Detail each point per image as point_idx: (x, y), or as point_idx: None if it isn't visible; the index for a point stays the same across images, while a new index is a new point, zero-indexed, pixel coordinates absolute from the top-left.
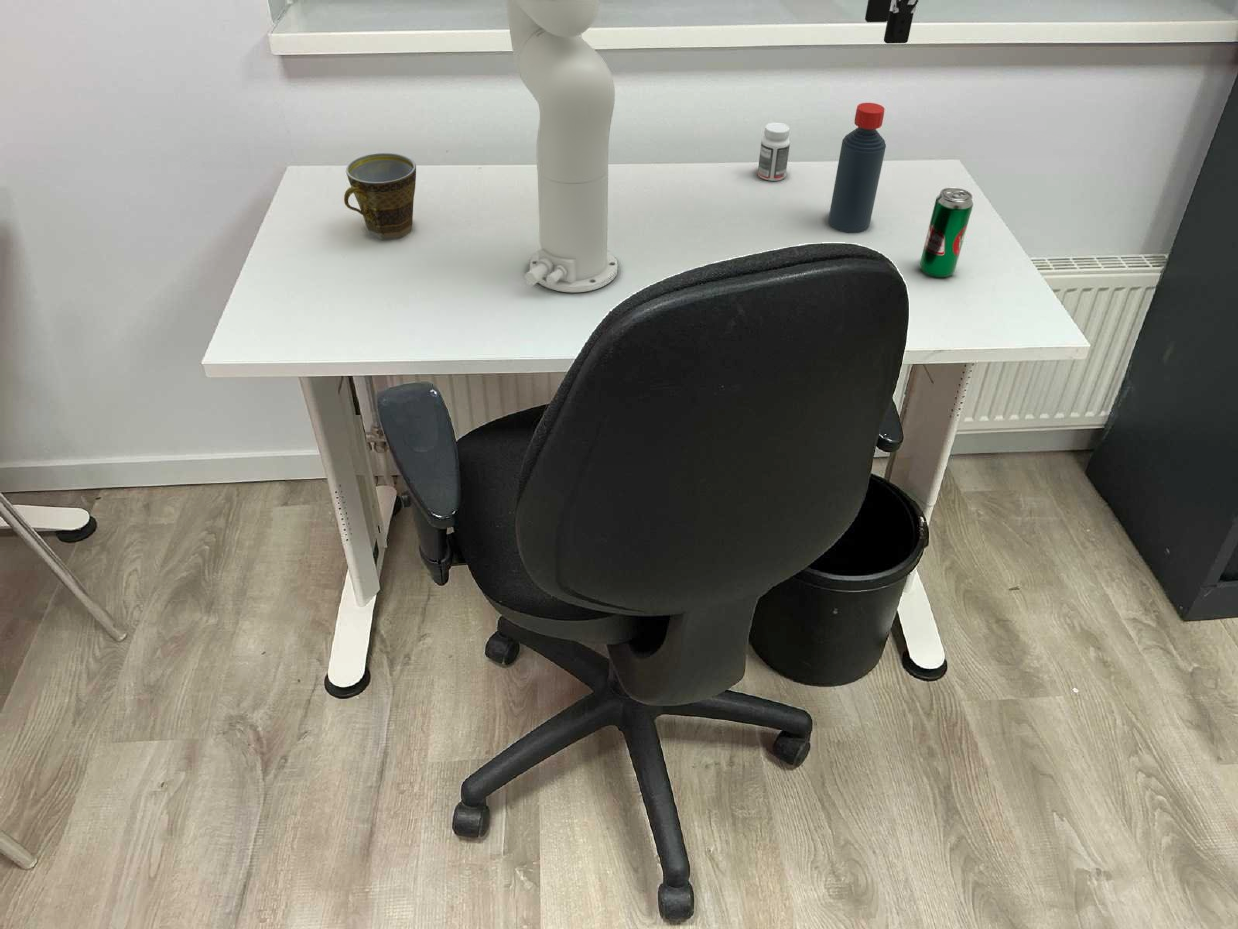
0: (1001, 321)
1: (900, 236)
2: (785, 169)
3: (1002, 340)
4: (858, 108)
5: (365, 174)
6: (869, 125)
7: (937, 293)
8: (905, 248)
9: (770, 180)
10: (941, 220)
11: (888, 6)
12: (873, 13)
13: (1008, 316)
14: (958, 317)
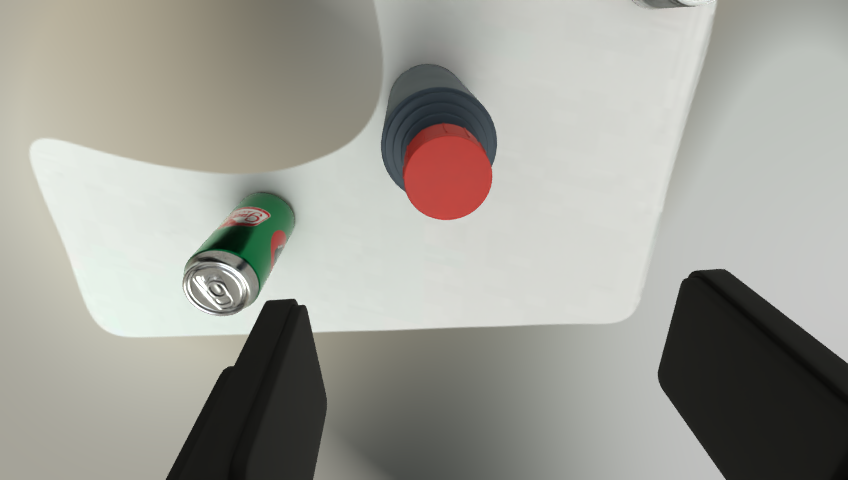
0: (133, 267)
1: (378, 188)
2: (642, 1)
3: (79, 254)
4: (444, 137)
5: None
6: (404, 160)
7: (194, 200)
8: (336, 186)
9: None
10: (203, 243)
11: (714, 447)
12: (709, 335)
13: (151, 279)
14: (126, 212)
